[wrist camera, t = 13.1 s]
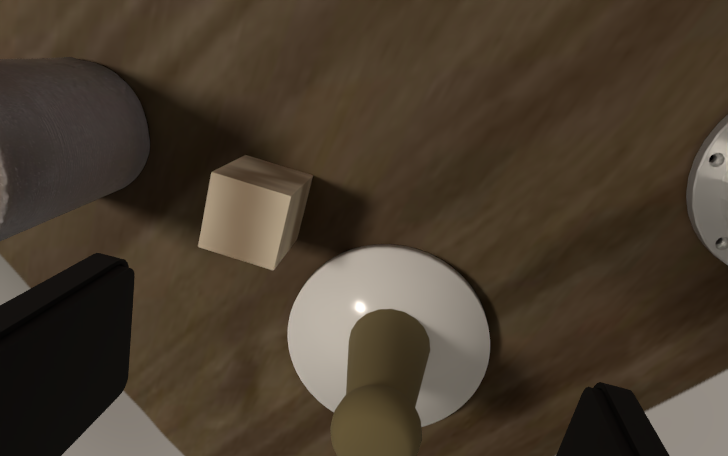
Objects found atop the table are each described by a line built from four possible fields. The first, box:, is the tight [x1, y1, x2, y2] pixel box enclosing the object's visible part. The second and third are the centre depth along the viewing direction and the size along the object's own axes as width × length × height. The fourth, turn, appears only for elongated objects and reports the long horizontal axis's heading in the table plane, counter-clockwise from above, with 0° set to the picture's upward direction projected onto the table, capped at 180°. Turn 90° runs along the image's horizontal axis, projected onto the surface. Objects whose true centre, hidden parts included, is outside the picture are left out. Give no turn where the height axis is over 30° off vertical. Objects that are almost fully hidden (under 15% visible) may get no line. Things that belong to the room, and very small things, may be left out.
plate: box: [288, 244, 490, 427], centre depth 39 cm, size 15×15×1 cm
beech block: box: [198, 155, 313, 270], centre depth 34 cm, size 5×5×6 cm
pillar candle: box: [0, 57, 150, 241], centre depth 30 cm, size 10×10×15 cm
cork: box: [330, 309, 430, 456], centre depth 33 cm, size 6×6×11 cm
